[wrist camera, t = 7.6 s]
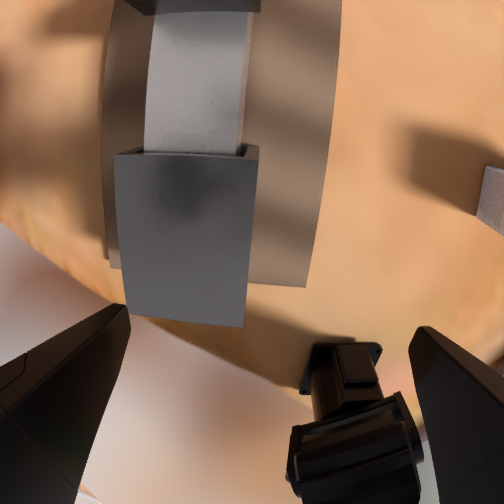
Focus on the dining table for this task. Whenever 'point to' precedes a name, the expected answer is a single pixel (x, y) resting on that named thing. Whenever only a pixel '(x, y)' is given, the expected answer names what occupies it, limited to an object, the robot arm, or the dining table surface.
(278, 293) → the dining table surface
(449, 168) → the dining table surface
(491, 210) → the medicine box
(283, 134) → the base board
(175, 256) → the outer sleeve
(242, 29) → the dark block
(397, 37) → the dining table surface
